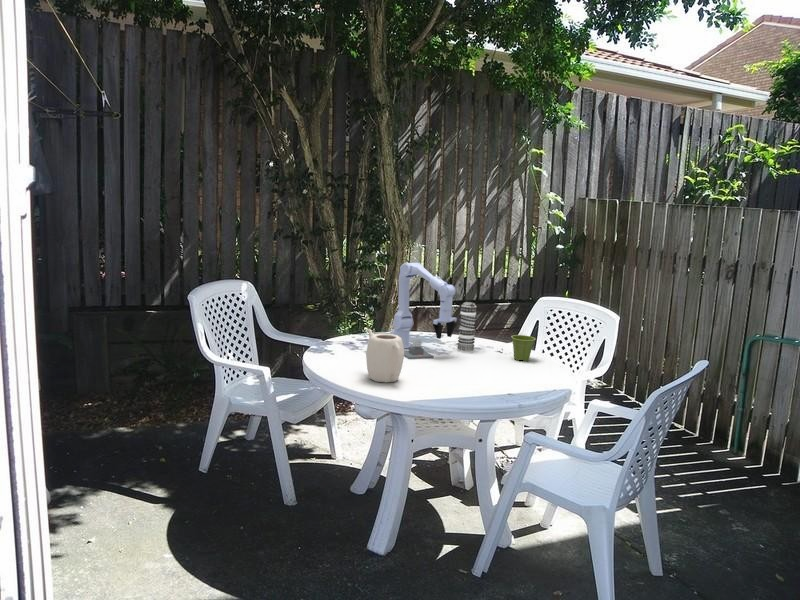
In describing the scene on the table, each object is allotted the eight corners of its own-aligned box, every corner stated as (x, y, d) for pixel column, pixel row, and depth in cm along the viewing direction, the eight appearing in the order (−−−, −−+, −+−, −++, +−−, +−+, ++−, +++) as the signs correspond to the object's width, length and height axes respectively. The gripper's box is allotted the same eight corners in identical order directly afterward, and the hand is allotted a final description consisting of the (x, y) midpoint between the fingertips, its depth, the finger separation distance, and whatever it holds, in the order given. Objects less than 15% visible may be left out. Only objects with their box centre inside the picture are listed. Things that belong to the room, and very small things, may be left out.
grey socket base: (398, 352, 346) (399, 343, 346) (422, 351, 351) (423, 343, 351) (408, 359, 335) (409, 349, 334) (433, 358, 339) (434, 348, 339)
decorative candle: (453, 349, 361) (456, 301, 357) (469, 348, 365) (472, 301, 361) (461, 353, 353) (465, 304, 349) (477, 352, 356) (481, 304, 352)
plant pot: (507, 360, 343) (509, 338, 341) (511, 355, 354) (513, 333, 352) (531, 363, 339) (533, 341, 337) (535, 358, 350) (537, 336, 348)
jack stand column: (412, 352, 344) (413, 337, 342) (417, 352, 345) (418, 337, 344) (414, 353, 341) (415, 339, 340) (420, 353, 342) (421, 338, 341)
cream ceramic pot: (381, 369, 313) (383, 328, 310) (414, 385, 291) (417, 340, 288) (350, 372, 304) (352, 330, 301) (382, 389, 282) (385, 343, 279)
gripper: (441, 312, 330) (439, 340, 332) (461, 310, 340) (459, 337, 342) (430, 310, 335) (429, 337, 337) (451, 307, 345) (449, 334, 347)
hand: (443, 337), depth 340 cm, fingers open, 7 cm apart
